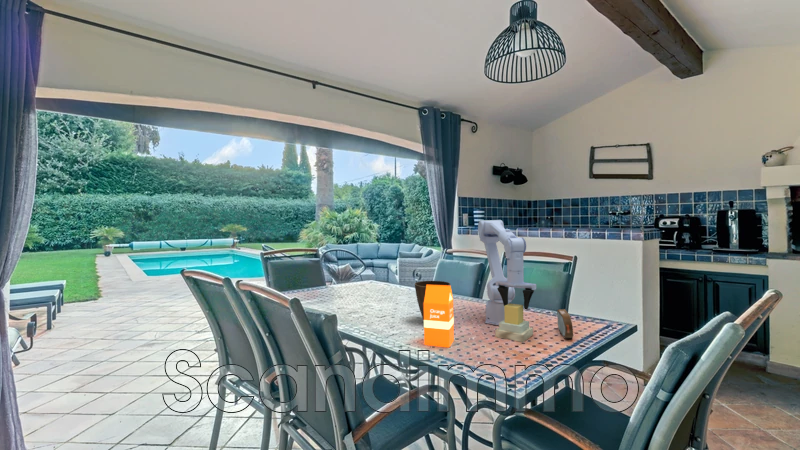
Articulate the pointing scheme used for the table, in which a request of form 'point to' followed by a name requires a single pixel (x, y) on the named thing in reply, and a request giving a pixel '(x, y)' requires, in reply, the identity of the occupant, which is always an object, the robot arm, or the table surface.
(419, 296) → the plant pot
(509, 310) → the mustard block
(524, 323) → the sage top slab
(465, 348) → the table surface
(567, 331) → the tin
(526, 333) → the oak plinth
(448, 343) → the orange juice
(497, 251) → the robot arm
